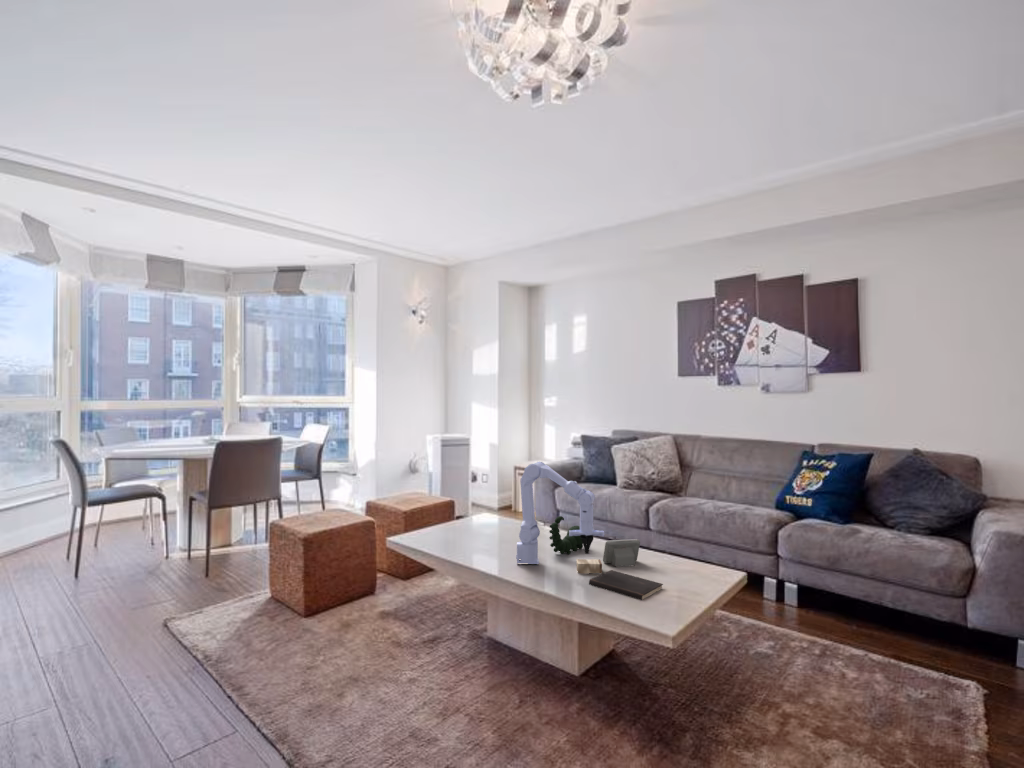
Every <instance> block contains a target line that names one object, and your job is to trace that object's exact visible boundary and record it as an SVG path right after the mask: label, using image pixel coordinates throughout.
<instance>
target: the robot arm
mask: <svg viewBox="0 0 1024 768" xmlns="http://www.w3.org/2000/svg"><path fill="white" fill-rule="evenodd" d="M523 469H524V470H523V474H522V475H521V478H520V496H521V510H522V511H521V512H522V522H521V523H520V524H521V525H520V531H519V533H518V537H519V540H520V541H517V542H516V556H515V558H516V564H517V563H528V564H540V563H539V558H538V557H539V556H538V555H539V554H538V553H539V552H538V550H539V549H538V546H539V545H538V544H539V543H538V542H539V540H538V538H539V536H540V534H541V530H540V528H539V526H538V522H537V520H536V517H535V502H534V500H535V499H534V488H533V487H534V486H533V484H534V483H535V482H536V481H537V480H538V479H539V478H540V479H549V480H551V481H552V482H554V483H556V484H557V485H559V486H560V487H562V488H563V491H564V492H565V493H566V494H567V495H568V496H570V497H572V498H573V499H574V500H576V501H577V503H578V504H579V526H580V530H569V529H568V530H569V536H580V537H581V540H582V542H583V549H584V550H583V551H584V554H585V555H588V554H590V553H589V552H590V548H591V545H592V543H593V541H594V537H605V531H604V530H597V529H594V502H595V500H596V497H595V496H596V495H595V494H594V493H593V492H592V490H588V489H587V488H583V487H582V485H579V484H578V482H577V481H576V480H574V481H573V480H569V481H568V480H567V479H566V478H564V477H563V476H562V475H561V474H559V473H558V472H557V471H555V470H554V469H553V468H552V467H551V466H549V465H548V464H545V463H544V462H543V461H537V462H534V463H530V464H528V465H527V466H526V467H525V468H523ZM586 537H587V538H586ZM519 559H521V560H519Z"/></svg>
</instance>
